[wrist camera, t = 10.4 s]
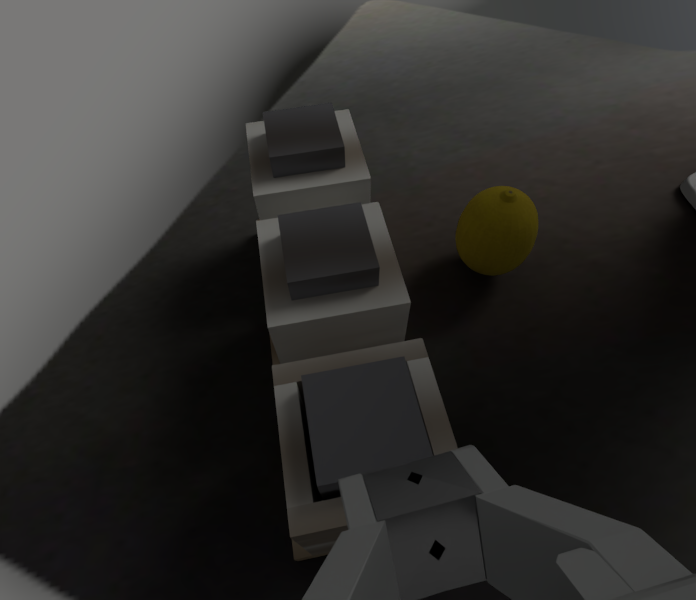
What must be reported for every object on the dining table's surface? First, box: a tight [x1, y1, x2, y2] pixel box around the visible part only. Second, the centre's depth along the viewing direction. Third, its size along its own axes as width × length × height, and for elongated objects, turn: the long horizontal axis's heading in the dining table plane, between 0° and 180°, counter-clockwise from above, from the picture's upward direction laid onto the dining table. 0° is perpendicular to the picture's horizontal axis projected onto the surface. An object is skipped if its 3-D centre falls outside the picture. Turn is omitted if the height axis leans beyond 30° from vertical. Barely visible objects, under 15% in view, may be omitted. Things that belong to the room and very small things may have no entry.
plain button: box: [301, 356, 433, 501], centre depth 20 cm, size 4×4×6 cm
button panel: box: [246, 103, 458, 561], centre depth 27 cm, size 25×9×12 cm, turn 11°
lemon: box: [456, 186, 538, 276], centre depth 33 cm, size 6×6×8 cm
